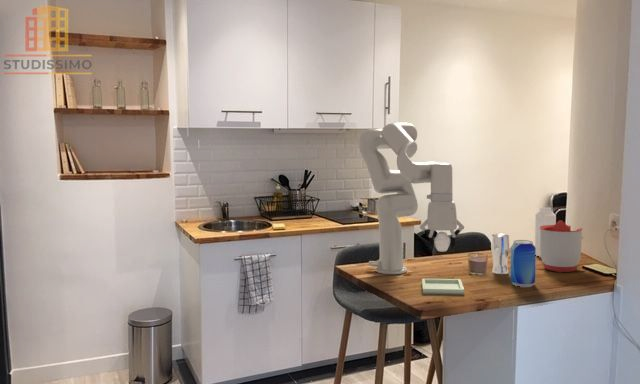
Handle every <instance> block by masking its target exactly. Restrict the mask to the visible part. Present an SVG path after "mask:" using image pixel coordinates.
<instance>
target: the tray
mask: <svg viewBox="0 0 640 384" xmlns="http://www.w3.org/2000/svg"><path fill="white" fill-rule="evenodd" d="M421 286H422V294H423V295H456V296H457V295H458V296H459V295H460V296H462V295H465V288H464V285H463V282H462V279H461V278H421Z"/></svg>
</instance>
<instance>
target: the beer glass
mask: <svg viewBox="0 0 640 384" xmlns="http://www.w3.org/2000/svg"><path fill="white" fill-rule="evenodd" d="M490 243H491V244H490V248H491V257H492V262H493V263H492V264H493V266H492V271H491V272H492V273H493V274H495V275H507V274H509V269H508V268H509V267H508V260H509V256H510V250H511V246H510V235H509V234H505V233H504V234H503V233H494V234H491V242H490Z"/></svg>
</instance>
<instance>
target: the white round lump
mask: <svg viewBox="0 0 640 384" xmlns="http://www.w3.org/2000/svg"><path fill="white" fill-rule="evenodd" d="M433 238H434V247H435V248H436V251H438V252H447V251H448V250H449V248H450V243H451V240H450V237H449V236H448V233H446V232H445V231H438V232H437V233H436V236H435V237H433Z"/></svg>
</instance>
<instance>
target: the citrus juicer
mask: <svg viewBox="0 0 640 384" xmlns="http://www.w3.org/2000/svg"><path fill="white" fill-rule="evenodd" d="M582 230H583V228H582V227H580V228H577V229H576V230H572V228H571V225H569V224H566V223H565V222H564V221H563V220H560V219H559V220H558V221H556V224H555V225H544V226H541V227H540V253H541V257H540V258H541V261H542V265H543V268H544V269H545V270H548V271H553V272H556V273H567V272H574V271H576V270H577V268H578V267H579V263H580V260H581V256H582V240H583V239H584V236H583V235H582V233H583V232H582Z"/></svg>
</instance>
